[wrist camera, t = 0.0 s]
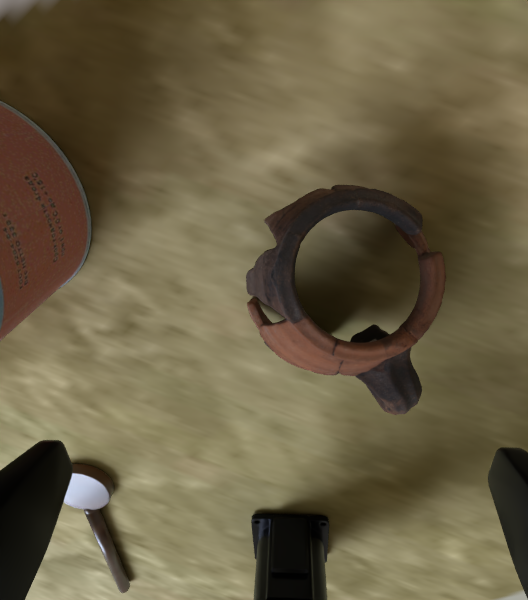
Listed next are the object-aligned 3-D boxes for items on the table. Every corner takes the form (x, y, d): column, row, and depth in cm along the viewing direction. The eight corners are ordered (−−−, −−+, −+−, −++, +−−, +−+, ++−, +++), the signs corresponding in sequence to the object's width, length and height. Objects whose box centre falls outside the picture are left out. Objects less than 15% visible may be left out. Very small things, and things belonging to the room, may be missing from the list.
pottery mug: (205, 272, 23) (204, 260, 15) (327, 177, 24) (389, 117, 16) (327, 425, 24) (389, 492, 16) (439, 329, 25) (549, 345, 17)
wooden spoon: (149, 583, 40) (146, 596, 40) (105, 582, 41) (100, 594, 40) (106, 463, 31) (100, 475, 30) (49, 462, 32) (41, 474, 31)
